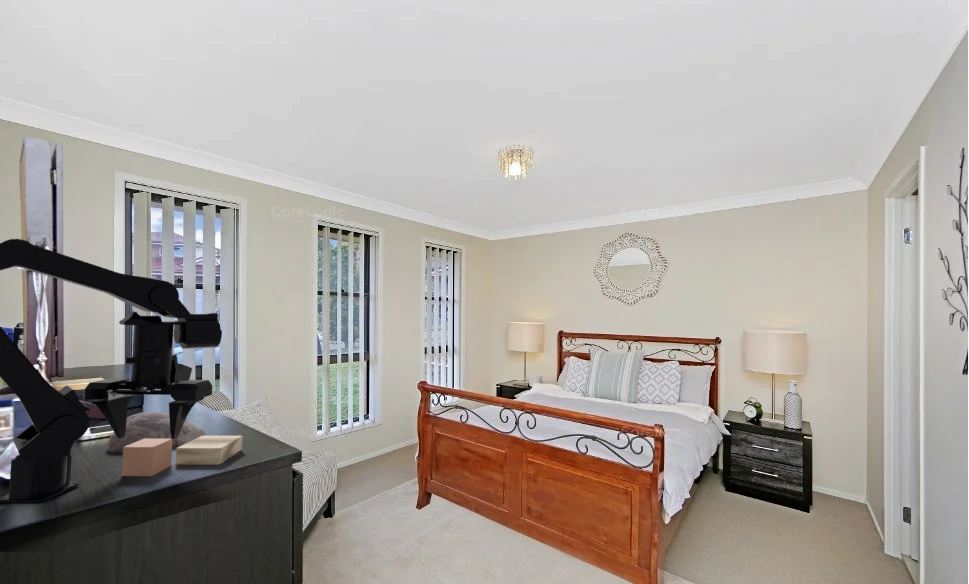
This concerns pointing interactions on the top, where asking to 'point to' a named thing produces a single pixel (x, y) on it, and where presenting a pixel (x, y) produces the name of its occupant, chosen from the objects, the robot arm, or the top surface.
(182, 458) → the base
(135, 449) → the block
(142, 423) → the stone
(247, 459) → the top surface
